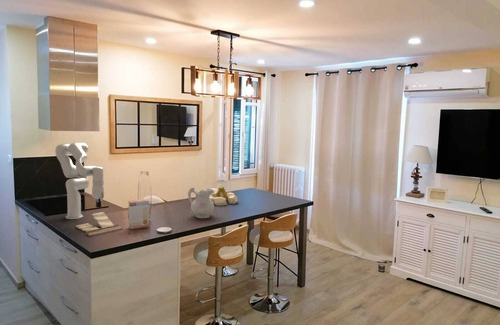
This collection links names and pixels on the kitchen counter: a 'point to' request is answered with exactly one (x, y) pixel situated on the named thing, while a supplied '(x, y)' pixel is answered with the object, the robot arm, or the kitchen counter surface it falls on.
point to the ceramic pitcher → (201, 203)
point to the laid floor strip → (103, 230)
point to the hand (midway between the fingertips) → (98, 207)
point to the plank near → (87, 227)
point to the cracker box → (138, 214)
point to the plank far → (102, 220)
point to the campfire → (223, 197)
